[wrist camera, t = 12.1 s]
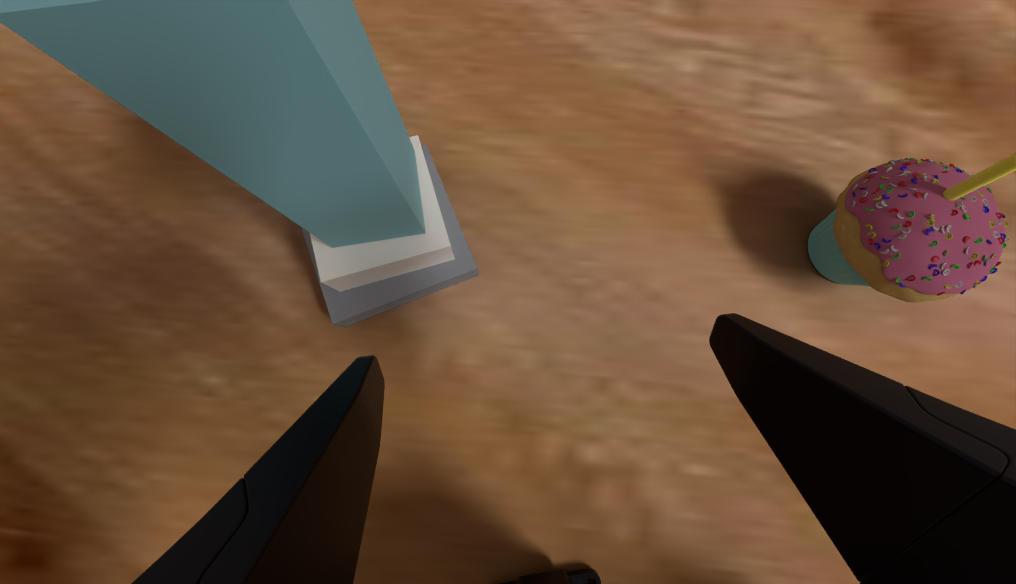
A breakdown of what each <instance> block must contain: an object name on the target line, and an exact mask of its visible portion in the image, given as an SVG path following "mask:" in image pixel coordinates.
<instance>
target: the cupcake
mask: <svg viewBox="0 0 1016 584" xmlns="http://www.w3.org/2000/svg"><path fill="white" fill-rule="evenodd" d="M951 165H952V166H951ZM1015 170H1016V153H1015V154H1014V155H1012V156H1010V157H1008V158H1006V159H1004V160H1002V161H1000V162H998V163H996V164H995V165H993V166H991V167H989V168H987V169H985V170H983V171H981V172H979V173H977V174H976V175H974V176H973V175H968V173H966V172H965V171H964V170H962V171H961V169H960V168H957V167H954V165H953V164H950V166H947V165H944V164H943V163H941V162H934V161H932V160H930V159H925V160H922V159H921V160H915V159H913V158H909V159H908V158H906V159H900V160H891V161H889V162H888V163H885V164H882V165H879V166H876V167H874V168H871V169H869V170H867V171H865V172H863V173H861V174H859V175H857V176H856V177H854V178H853V179H852V180H851V181H850V183H849V184H848V186H847V188H846V189H845V190H844V191H843V192H842V193H841V194H840V195H839V196H838V198H837V201H836V206H837V208H836V209H835V210H834V211H833V212H832V213H831V214H830V215H829V216H827V217H826V218H825V219H824V220H823V221H822V222H820V223H819V224H818V225H817V226H816V227H815V228H814V229H813V230H812V232H811V233H810V236H809V239H808V253H809V257H810V259H811V261H812V263H813V265H814V266H815V268H816V269H817V270H818V271H819V272H820V273H821V274H822V275H823V276H824V277H826V278H827V279H829V280H831V281H833V282H835V283H839V284H844V285H864V286H871V287H872V288H873V289H875V290H877V291H879V292H882V293H884V294H887V295H889V296H892V297H895V298H897V299H900V300H903V301H906V302H913V303H915V302H925V301H933V300H941V299H945V298H949V297H951V296H954V295H956V294H958V293H960V294H963V293H964V292H965V291H967V290H969V289H971V288H972V287H973V288H976V287H977V285H978V284H979V283H980V282H982V281H985V280H986V279H987V275H988V274H992V273H995V272H996V271H997V268H995V266H998V265H999V264H1001V262H998V260H999V258H1000V256H1001V253H1002V252H1003V248H1005V247H1006V243H1008V242H1009V238H1008V237H1006V227H1007V226H1008V224H1007V223H1006V222H1005V221H1004V220H1003V218H1005V215H1003V214H1001V212H1000V209H999V207H998V205H997V203H996V201H995V198H994V197H993V195H992V194H991V193H992V190H991V189H989V188H985V187H984V185H986V184H989V183H991V182H993V181H995V180H997V179H999V178H1001V177H1003V176H1005V175H1007V174H1009V173H1011V172H1013V171H1015ZM1005 224H1006V225H1005ZM1006 239H1007V241H1006ZM1005 241H1006V242H1005ZM994 269H995V271H993V270H994Z"/></svg>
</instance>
